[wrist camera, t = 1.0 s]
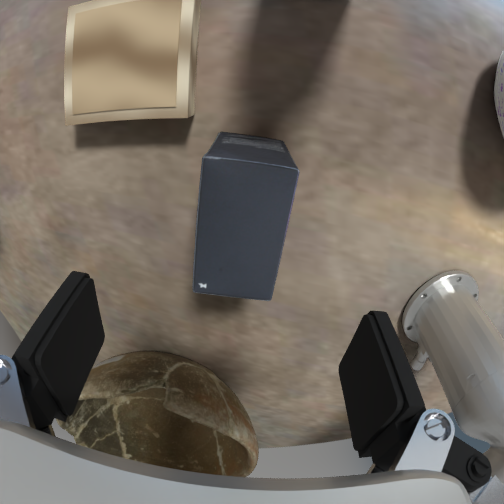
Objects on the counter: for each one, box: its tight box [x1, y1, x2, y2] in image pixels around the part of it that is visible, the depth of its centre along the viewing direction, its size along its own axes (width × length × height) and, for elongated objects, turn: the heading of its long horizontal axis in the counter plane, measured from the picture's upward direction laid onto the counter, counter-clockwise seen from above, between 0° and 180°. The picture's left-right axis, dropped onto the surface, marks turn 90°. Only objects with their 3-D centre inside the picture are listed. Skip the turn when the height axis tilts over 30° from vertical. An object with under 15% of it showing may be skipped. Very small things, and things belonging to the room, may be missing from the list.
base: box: [64, 0, 201, 126], centre depth 22 cm, size 12×12×3 cm
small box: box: [193, 132, 299, 301], centre depth 25 cm, size 11×6×10 cm, turn 172°
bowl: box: [56, 351, 259, 477], centre depth 38 cm, size 28×27×15 cm
